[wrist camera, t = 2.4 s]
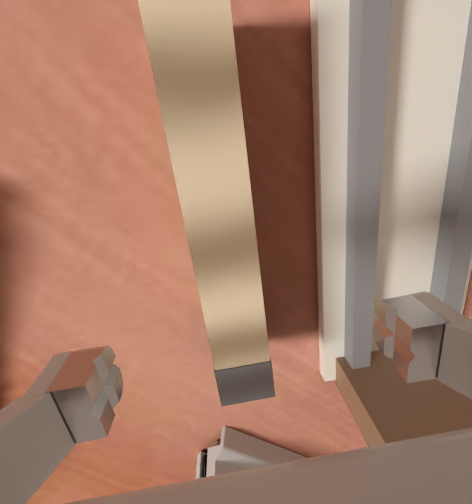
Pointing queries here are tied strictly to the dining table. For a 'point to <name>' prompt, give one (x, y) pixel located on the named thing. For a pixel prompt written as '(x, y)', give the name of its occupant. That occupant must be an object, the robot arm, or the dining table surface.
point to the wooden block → (213, 183)
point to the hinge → (240, 454)
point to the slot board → (390, 194)
